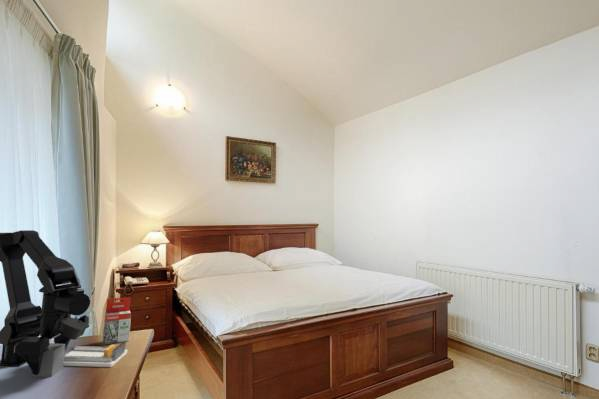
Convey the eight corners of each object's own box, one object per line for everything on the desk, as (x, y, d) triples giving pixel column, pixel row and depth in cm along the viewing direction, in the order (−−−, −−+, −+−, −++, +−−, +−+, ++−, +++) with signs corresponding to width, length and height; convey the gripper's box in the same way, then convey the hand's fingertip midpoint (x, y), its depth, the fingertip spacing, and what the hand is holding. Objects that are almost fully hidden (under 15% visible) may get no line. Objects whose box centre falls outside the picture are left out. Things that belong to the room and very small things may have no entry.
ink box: (129, 341, 113) (132, 299, 114) (102, 345, 109) (106, 301, 110) (128, 337, 116) (131, 296, 117) (102, 341, 112) (106, 298, 113)
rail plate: (54, 365, 93) (55, 351, 93) (76, 351, 103) (77, 338, 103) (111, 367, 94) (112, 353, 94) (127, 352, 104) (128, 340, 104)
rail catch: (103, 358, 97) (104, 350, 97) (111, 352, 101) (111, 344, 101) (107, 358, 97) (108, 350, 97) (114, 352, 101) (115, 344, 101)
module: (32, 376, 87) (35, 349, 87) (44, 368, 91) (47, 343, 92) (51, 376, 87) (54, 350, 87) (62, 368, 92) (65, 343, 92)
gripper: (61, 321, 81) (55, 384, 80) (102, 302, 100) (97, 353, 99) (15, 319, 81) (8, 383, 80) (65, 300, 99) (59, 352, 98)
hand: (48, 366), depth 89 cm, fingers open, 9 cm apart
